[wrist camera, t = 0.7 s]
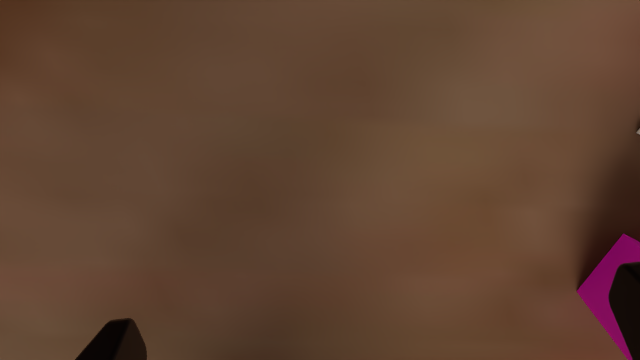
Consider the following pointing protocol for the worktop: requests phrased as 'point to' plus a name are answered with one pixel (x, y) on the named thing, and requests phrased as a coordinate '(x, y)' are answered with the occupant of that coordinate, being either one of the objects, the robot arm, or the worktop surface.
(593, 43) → the worktop surface
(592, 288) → the toy block
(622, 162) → the worktop surface
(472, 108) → the worktop surface
